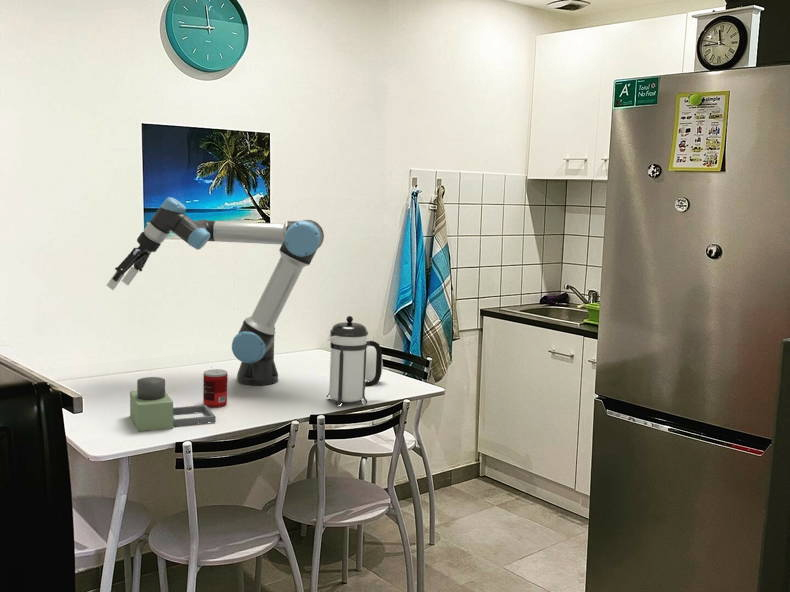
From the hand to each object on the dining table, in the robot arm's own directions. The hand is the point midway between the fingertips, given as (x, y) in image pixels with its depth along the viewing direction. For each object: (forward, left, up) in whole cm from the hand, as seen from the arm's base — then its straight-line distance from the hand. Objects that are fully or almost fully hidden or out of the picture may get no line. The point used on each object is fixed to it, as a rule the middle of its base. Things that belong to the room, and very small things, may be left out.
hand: (117, 285), depth 270 cm
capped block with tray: (-10, +49, -35) cm, 61 cm away
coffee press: (-70, +46, -35) cm, 91 cm away
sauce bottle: (-88, +25, -35) cm, 98 cm away
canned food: (-26, +36, -35) cm, 57 cm away
